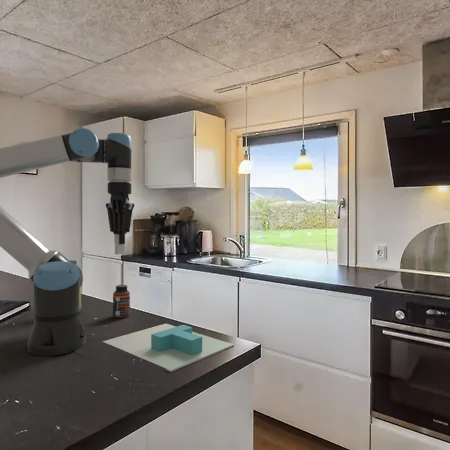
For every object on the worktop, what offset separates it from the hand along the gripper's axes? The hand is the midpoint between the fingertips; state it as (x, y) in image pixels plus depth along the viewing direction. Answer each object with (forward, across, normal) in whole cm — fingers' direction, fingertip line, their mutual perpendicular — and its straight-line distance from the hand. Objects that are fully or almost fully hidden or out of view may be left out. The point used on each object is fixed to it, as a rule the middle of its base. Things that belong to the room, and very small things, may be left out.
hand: (119, 254), depth 126 cm
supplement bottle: (+25, +11, -8) cm, 28 cm away
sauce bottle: (+25, +28, +2) cm, 37 cm away
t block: (+24, -30, 0) cm, 38 cm away
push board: (+24, -24, 0) cm, 34 cm away
